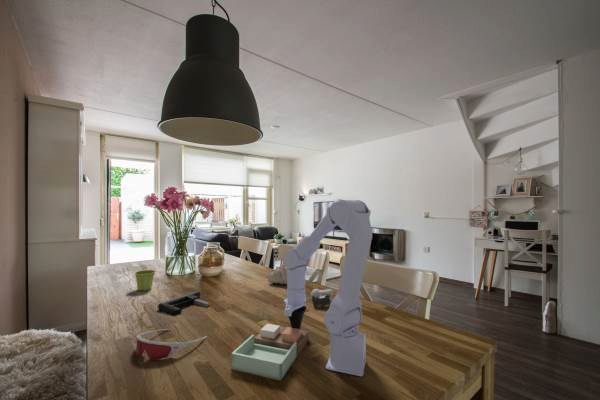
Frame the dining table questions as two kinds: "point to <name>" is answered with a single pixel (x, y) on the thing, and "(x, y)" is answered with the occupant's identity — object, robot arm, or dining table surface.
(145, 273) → the plant pot
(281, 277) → the seashell
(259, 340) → the walnut plate
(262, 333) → the white tile
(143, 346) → the sunglasses
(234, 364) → the green bin
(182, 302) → the door handle
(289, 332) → the terracotta tile
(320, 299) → the clip-on lamp
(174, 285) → the dining table surface
